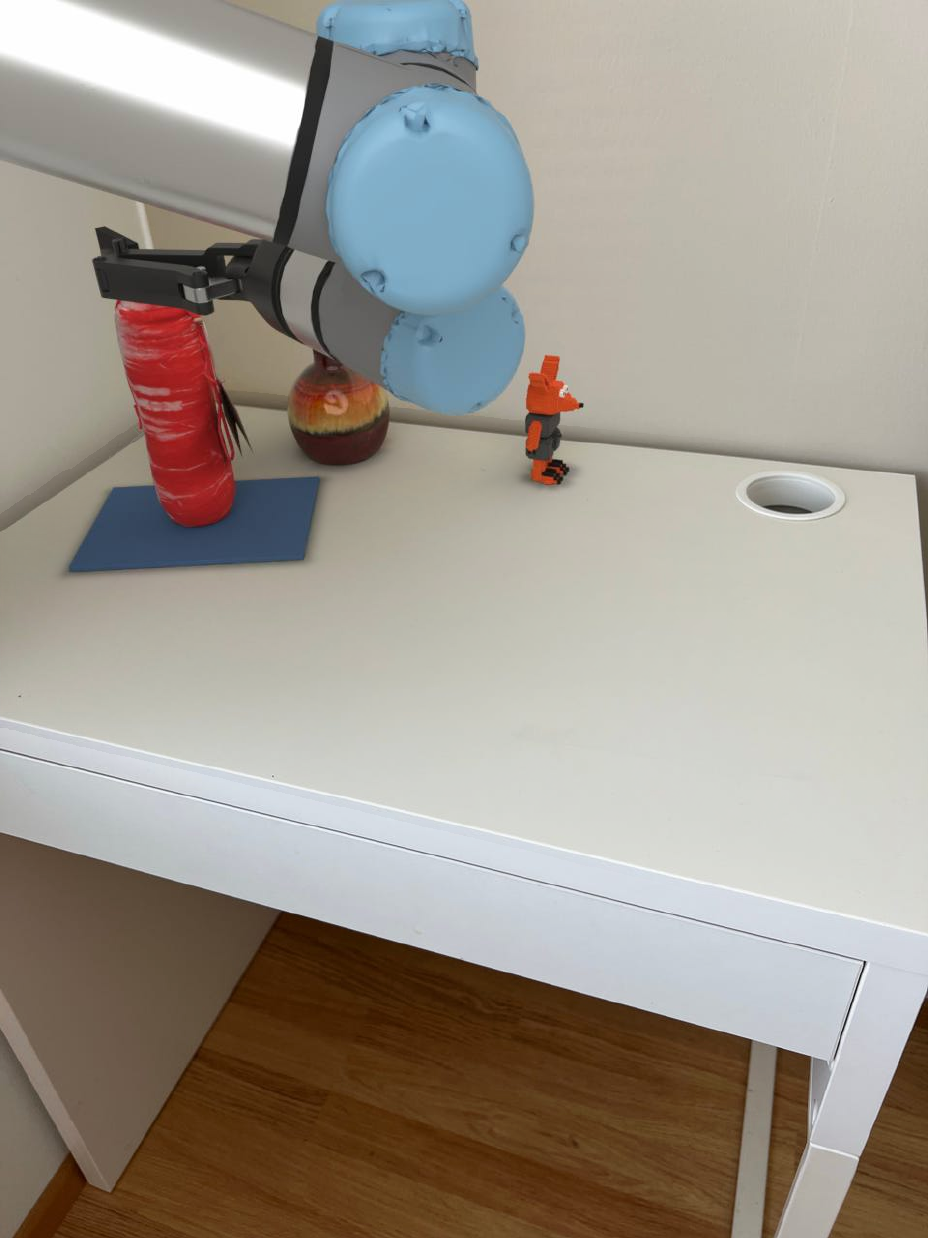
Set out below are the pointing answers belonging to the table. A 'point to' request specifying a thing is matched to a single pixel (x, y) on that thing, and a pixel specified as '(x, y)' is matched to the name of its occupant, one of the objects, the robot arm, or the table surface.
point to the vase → (337, 413)
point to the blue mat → (201, 528)
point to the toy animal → (546, 421)
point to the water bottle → (180, 410)
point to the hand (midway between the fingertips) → (190, 228)
